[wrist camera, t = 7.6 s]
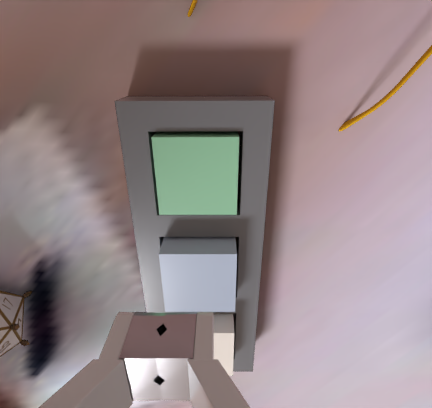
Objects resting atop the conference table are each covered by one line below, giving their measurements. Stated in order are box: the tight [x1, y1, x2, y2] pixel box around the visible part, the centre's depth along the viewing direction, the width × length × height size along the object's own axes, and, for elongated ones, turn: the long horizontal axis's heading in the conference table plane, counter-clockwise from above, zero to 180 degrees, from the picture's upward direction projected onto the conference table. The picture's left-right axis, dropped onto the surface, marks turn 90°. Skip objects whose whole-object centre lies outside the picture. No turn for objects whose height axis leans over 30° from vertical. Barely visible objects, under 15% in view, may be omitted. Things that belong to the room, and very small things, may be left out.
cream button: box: [213, 313, 234, 376], centre depth 28 cm, size 6×6×3 cm
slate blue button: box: [159, 237, 237, 312], centre depth 25 cm, size 6×6×3 cm
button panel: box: [115, 96, 275, 372], centre depth 26 cm, size 28×11×3 cm, turn 0°
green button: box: [151, 131, 239, 215], centre depth 22 cm, size 6×6×3 cm
